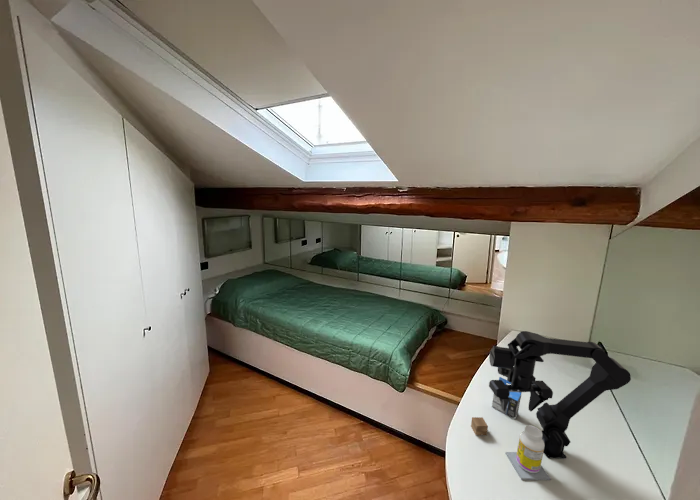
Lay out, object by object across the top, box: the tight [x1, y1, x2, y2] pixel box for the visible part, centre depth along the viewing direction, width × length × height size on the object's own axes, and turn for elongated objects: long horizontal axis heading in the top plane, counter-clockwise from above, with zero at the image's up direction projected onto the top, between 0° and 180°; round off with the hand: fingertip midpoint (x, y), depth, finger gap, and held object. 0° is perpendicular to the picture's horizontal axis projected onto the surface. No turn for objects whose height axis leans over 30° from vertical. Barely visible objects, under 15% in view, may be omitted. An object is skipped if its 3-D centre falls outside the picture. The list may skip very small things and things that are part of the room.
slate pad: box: [505, 451, 551, 481], centre depth 93 cm, size 9×9×1 cm
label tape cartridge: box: [491, 376, 523, 420], centre depth 115 cm, size 9×4×12 cm, turn 42°
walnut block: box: [470, 416, 489, 436], centre depth 106 cm, size 4×4×4 cm
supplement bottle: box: [516, 424, 545, 473], centre depth 92 cm, size 7×7×13 cm
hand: (516, 410), depth 99 cm, fingers open, 9 cm apart
